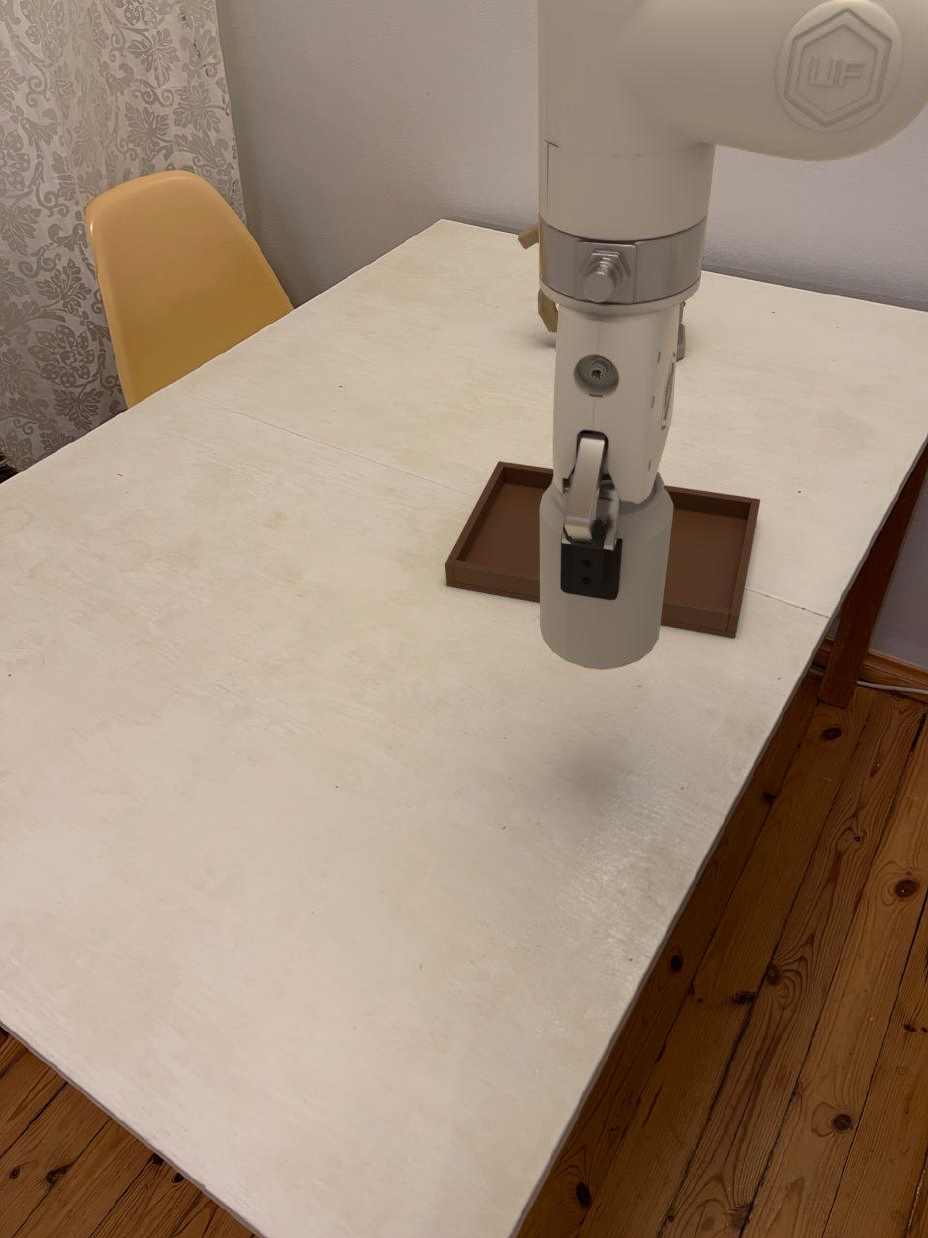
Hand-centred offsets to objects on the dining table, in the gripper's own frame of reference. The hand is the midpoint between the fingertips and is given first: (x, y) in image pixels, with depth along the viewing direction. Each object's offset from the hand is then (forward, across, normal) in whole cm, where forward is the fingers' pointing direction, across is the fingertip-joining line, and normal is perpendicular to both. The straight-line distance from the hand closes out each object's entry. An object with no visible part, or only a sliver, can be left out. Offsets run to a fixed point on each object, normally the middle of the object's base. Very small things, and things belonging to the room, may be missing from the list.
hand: (604, 546), depth 56 cm
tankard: (+22, +65, +12) cm, 69 cm away
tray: (+21, +26, +4) cm, 34 cm away
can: (+7, 0, 0) cm, 7 cm away
